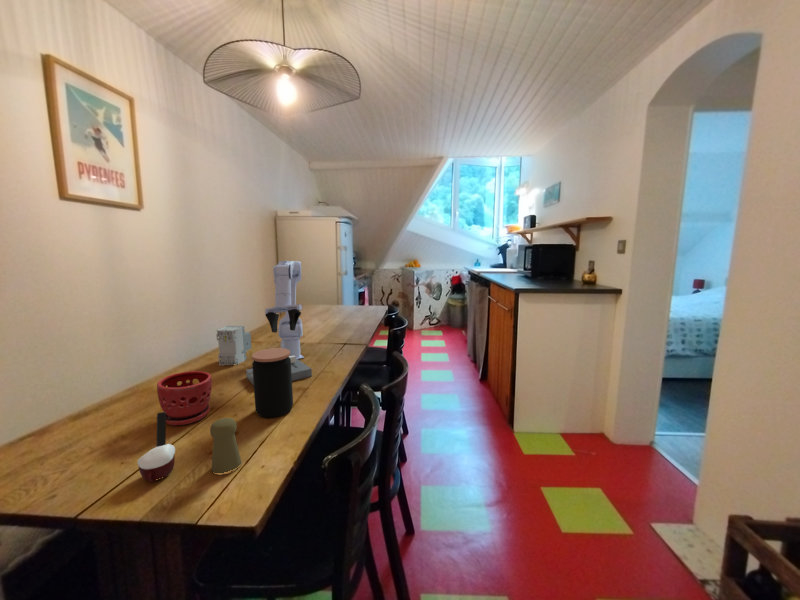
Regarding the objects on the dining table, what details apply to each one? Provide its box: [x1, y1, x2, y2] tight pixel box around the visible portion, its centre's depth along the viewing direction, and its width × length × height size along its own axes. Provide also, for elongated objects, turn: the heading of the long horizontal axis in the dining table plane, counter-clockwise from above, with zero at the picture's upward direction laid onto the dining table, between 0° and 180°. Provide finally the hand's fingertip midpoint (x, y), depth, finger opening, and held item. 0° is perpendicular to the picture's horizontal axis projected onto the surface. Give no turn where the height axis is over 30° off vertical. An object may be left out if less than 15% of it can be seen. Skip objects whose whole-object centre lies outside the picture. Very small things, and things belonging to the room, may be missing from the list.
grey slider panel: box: [245, 359, 313, 387], centre depth 127 cm, size 14×20×3 cm
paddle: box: [289, 356, 296, 363], centre depth 133 cm, size 2×3×2 cm, turn 128°
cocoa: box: [137, 411, 176, 483], centre depth 72 cm, size 10×6×12 cm, turn 174°
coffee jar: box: [251, 347, 294, 419], centre depth 100 cm, size 11×11×18 cm
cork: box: [209, 417, 242, 473], centre depth 75 cm, size 6×6×11 cm
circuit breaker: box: [215, 325, 252, 366], centre depth 146 cm, size 8×14×15 cm, turn 174°
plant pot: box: [156, 370, 213, 426], centre depth 96 cm, size 13×13×12 cm
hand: (283, 331), depth 124 cm, fingers open, 7 cm apart
